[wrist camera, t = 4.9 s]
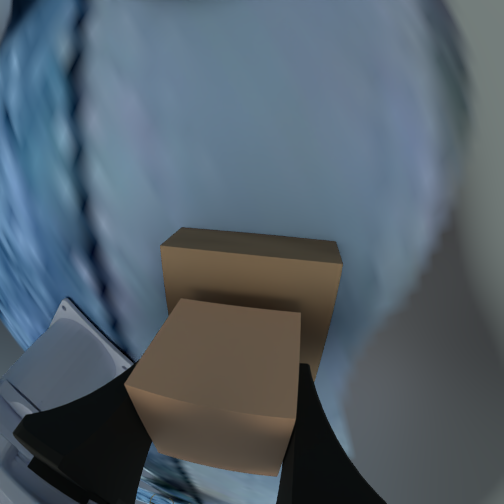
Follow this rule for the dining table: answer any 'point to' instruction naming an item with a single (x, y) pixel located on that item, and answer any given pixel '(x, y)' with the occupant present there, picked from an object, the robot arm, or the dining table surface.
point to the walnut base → (257, 277)
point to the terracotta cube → (221, 385)
